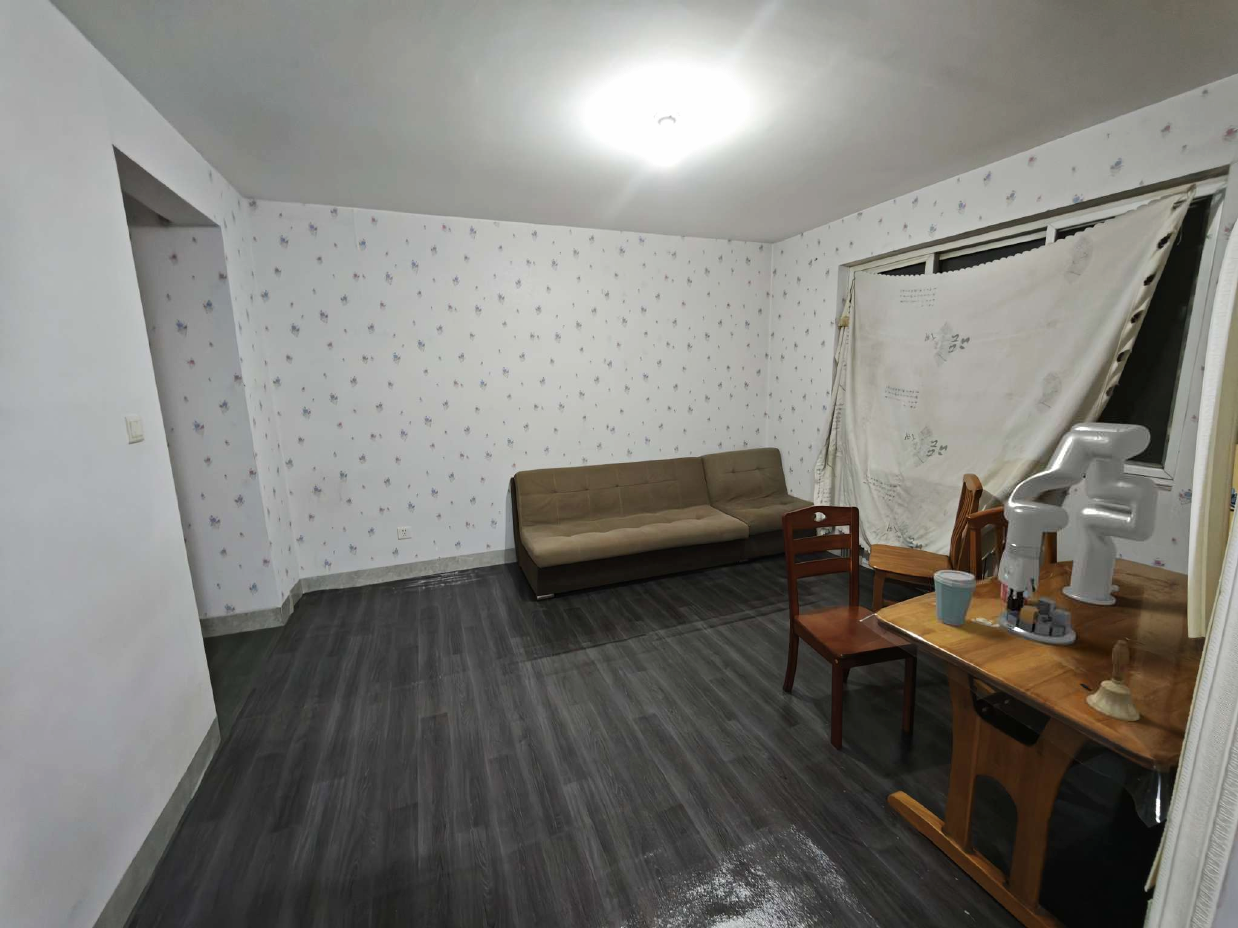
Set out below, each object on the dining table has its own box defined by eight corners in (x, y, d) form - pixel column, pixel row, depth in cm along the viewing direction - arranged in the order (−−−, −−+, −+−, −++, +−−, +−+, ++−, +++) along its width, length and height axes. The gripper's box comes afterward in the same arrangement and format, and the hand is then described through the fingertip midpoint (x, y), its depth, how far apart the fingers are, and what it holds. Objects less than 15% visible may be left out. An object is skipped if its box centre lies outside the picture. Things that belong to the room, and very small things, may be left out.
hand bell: (1128, 725, 101) (1140, 655, 98) (1078, 702, 108) (1088, 636, 106) (1147, 714, 104) (1160, 646, 102) (1097, 692, 112) (1108, 628, 109)
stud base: (1028, 613, 150) (1030, 597, 149) (1091, 641, 134) (1094, 624, 133) (983, 619, 147) (985, 603, 146) (1042, 648, 130) (1044, 631, 129)
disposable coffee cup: (925, 621, 146) (930, 574, 143) (933, 609, 153) (937, 564, 151) (968, 633, 138) (974, 583, 136) (974, 619, 146) (979, 572, 144)
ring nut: (995, 619, 142) (998, 600, 141) (1017, 608, 149) (1020, 590, 148) (1056, 641, 130) (1059, 620, 129) (1077, 627, 137) (1080, 608, 136)
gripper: (991, 540, 146) (984, 598, 149) (1025, 558, 131) (1017, 621, 134) (1019, 541, 145) (1011, 599, 148) (1056, 559, 130) (1047, 623, 133)
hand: (1014, 609), depth 141 cm, fingers closed
